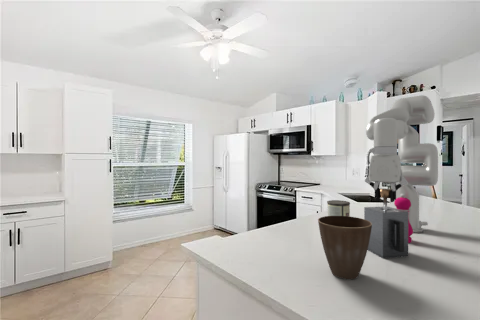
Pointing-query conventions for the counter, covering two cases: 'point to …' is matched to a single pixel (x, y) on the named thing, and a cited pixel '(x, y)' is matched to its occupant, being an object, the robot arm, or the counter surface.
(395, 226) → the press
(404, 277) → the counter surface
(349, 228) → the plant pot
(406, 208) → the pepper mill
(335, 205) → the coffee can
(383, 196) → the plunger
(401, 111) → the robot arm
